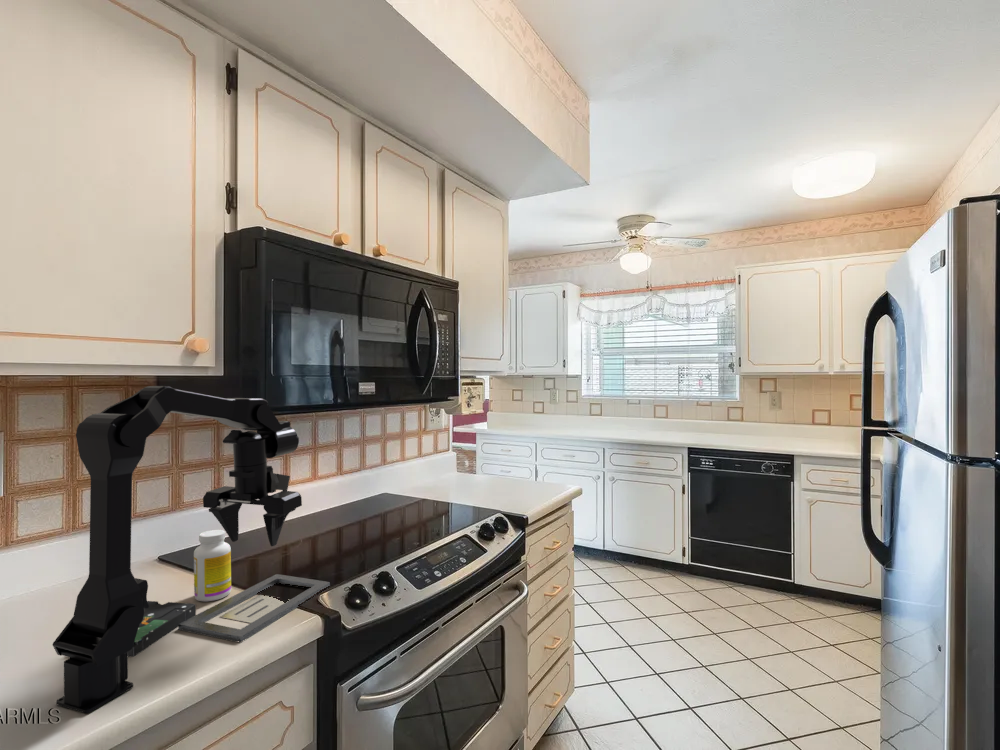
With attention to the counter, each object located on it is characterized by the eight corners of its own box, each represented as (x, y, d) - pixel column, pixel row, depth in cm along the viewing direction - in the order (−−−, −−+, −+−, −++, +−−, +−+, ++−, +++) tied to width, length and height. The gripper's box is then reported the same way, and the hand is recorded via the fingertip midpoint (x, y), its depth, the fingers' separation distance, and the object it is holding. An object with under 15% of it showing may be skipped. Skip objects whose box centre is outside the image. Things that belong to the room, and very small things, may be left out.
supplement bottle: (238, 590, 110) (238, 529, 110) (213, 604, 103) (212, 539, 103) (212, 587, 112) (212, 527, 111) (186, 600, 105) (185, 536, 105)
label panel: (240, 642, 89) (240, 636, 89) (178, 629, 93) (178, 624, 93) (329, 586, 112) (329, 582, 112) (276, 578, 116) (276, 574, 116)
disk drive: (146, 615, 100) (75, 656, 86) (146, 600, 100) (75, 639, 86) (197, 617, 99) (134, 659, 85) (197, 602, 99) (134, 642, 85)
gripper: (318, 457, 106) (321, 533, 106) (243, 453, 111) (247, 525, 112) (279, 469, 95) (282, 554, 96) (199, 464, 101) (203, 544, 102)
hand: (254, 543), depth 102 cm, fingers open, 9 cm apart
